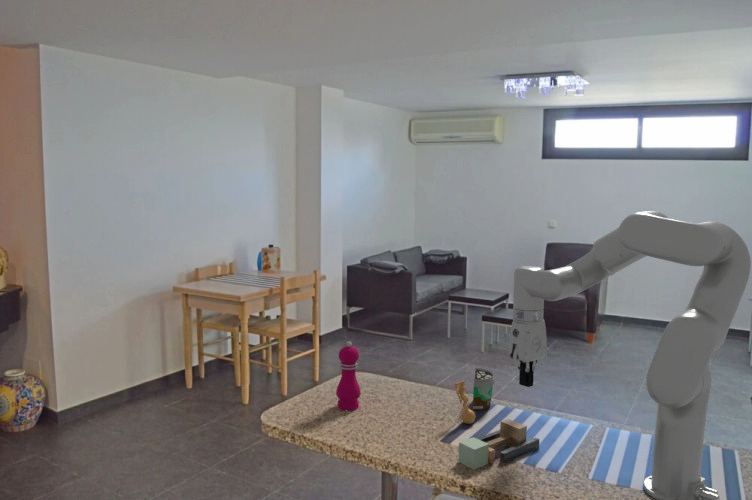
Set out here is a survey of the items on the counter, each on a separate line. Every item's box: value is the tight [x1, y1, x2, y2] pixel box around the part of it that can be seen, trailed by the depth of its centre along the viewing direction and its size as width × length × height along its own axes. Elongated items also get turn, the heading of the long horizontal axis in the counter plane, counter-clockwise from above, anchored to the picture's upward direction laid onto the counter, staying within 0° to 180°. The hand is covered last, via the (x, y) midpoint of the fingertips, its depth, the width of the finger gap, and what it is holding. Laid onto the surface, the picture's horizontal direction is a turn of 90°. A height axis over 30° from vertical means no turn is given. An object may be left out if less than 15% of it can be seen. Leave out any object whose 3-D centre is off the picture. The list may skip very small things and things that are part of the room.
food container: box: [472, 367, 496, 412], centre depth 185 cm, size 12×6×10 cm, turn 168°
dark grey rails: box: [476, 429, 540, 464], centre depth 156 cm, size 10×14×2 cm
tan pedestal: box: [486, 418, 528, 464], centre depth 154 cm, size 6×14×6 cm, turn 129°
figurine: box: [454, 380, 476, 425], centre depth 172 cm, size 8×6×12 cm
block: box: [457, 437, 489, 470], centre depth 148 cm, size 5×5×5 cm
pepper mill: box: [335, 340, 362, 412], centre depth 182 cm, size 7×7×20 cm
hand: (526, 385), depth 158 cm, fingers closed
